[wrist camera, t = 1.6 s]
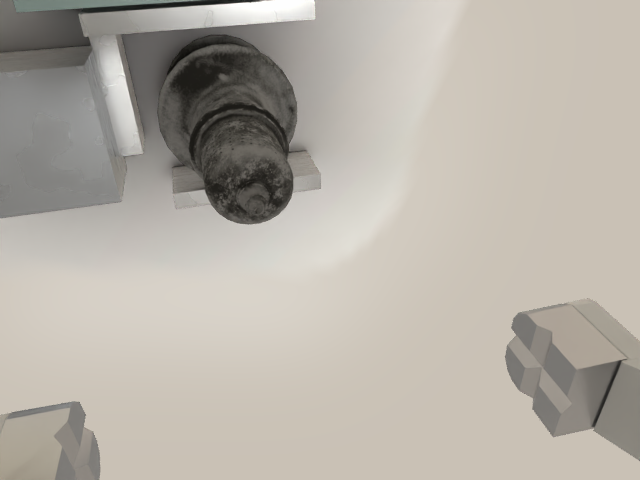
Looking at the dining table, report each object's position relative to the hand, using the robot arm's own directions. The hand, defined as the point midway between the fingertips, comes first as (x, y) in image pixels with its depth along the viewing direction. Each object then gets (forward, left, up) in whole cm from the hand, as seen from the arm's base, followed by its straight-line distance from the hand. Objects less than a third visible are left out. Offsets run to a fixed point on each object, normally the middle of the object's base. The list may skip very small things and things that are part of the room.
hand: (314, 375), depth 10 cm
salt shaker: (0, 0, -19) cm, 19 cm away
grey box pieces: (-4, 0, -18) cm, 19 cm away
